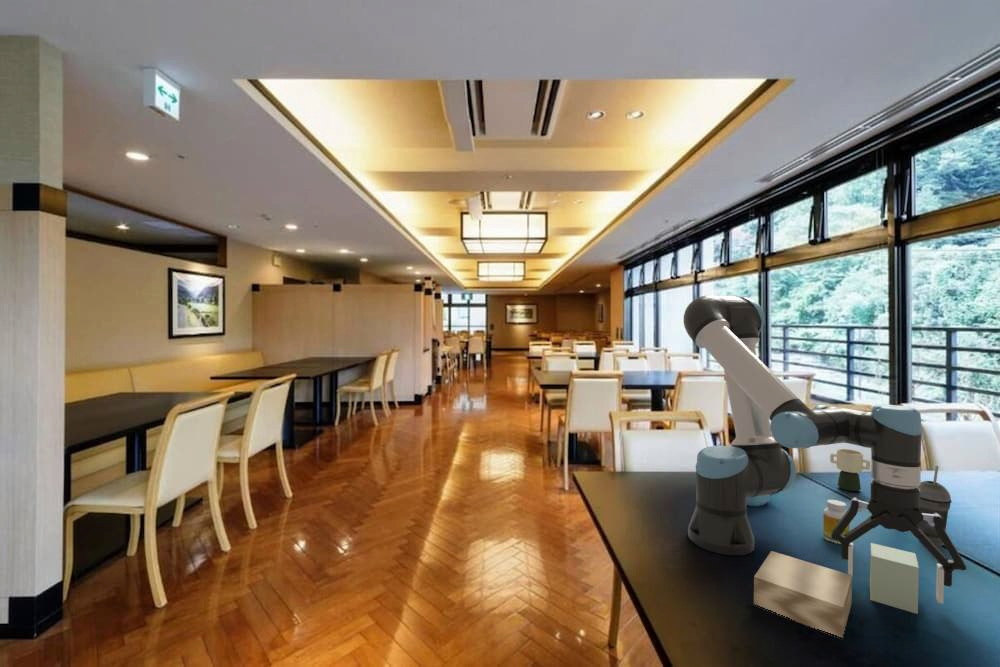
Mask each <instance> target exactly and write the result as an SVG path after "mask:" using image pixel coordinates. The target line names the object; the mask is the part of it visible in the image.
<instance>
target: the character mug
mask: <svg viewBox="0 0 1000 667" xmlns="http://www.w3.org/2000/svg"><path fill="white" fill-rule="evenodd" d="M829 455H830V456H829V457H830V458H829V460H830V462H829V463H832V464H836V467H837V469H838V470H840V472H839V476H838V481H837V486H838V487H839V488H840V489H842V490H846V491H850V492H851V491H853V492H856V491H861V489H862V488H861V480H860V475H859V474H860V473H862V472H863V471H864V470H867V471H871V461H870V460H869V459H864V453H863V452H862V451H859V450H855V449H847V448H838V449H837V450H836V453H830V454H829ZM834 458H836V460H834ZM864 463H865V465H866V466H864Z"/></svg>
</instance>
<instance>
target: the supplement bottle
mask: <svg viewBox="0 0 1000 667" xmlns="http://www.w3.org/2000/svg"><path fill="white" fill-rule="evenodd" d="M846 512H847V504H846V503H845V502H843V501H840V500H836V499H827V500H826V508H824V509H823V513H822V514H823V515H822V516H823V517H822V518H823V523H822V524H823V525H822V526H823V527H822V528H823V529H822V531H823V532H822V537H823V539H825V540H826V541H828V542H830V541H831V543H833V542H834V544H837V543H838V544H837V545H842V544H841V543H840V542H839V541H838V540H834V539H833V538H832V537H831V534H832V530H833V529H834V528H835V526H836V525H837V524H838V522H839V521H840V520H841V518H842V517H843V516H844V514H845V513H846ZM849 531H850V524H849V525H848V526H847V527H846V529H845V530H844V531H843V533H842V535H845V534H846V533H848V532H849Z"/></svg>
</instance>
